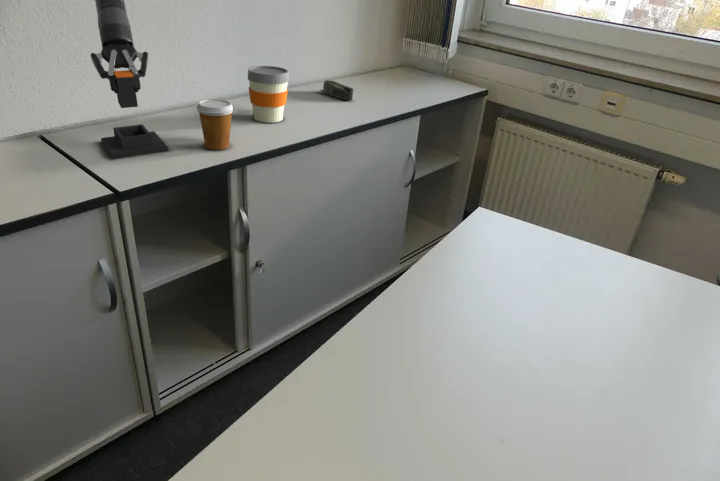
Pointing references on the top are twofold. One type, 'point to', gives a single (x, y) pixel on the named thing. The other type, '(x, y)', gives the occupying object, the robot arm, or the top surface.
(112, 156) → the base pad
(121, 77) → the pad block
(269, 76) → the reusable coffee cup
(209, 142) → the disposable coffee cup
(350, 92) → the dark grey block piece
